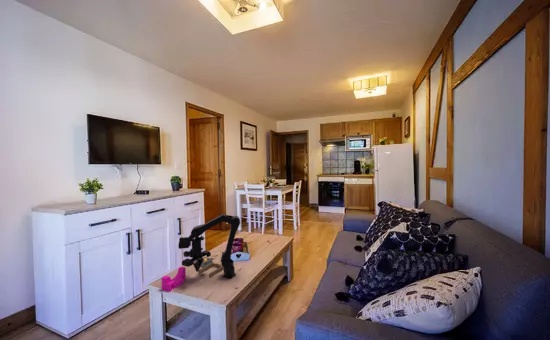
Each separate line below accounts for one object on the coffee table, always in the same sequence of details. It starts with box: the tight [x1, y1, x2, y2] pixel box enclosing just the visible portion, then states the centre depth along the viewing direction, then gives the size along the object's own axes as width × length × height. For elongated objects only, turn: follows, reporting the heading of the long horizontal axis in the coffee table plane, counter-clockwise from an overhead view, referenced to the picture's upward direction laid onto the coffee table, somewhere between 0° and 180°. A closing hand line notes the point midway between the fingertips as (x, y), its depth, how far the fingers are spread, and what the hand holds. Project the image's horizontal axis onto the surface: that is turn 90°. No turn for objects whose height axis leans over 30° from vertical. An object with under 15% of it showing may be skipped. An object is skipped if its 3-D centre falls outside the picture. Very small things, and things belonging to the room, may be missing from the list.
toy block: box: [161, 266, 187, 293], centre depth 136 cm, size 15×6×8 cm, turn 158°
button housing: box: [200, 256, 214, 268], centre depth 164 cm, size 8×8×3 cm
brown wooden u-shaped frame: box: [197, 262, 224, 279], centre depth 152 cm, size 11×14×2 cm
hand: (197, 271), depth 141 cm, fingers closed
